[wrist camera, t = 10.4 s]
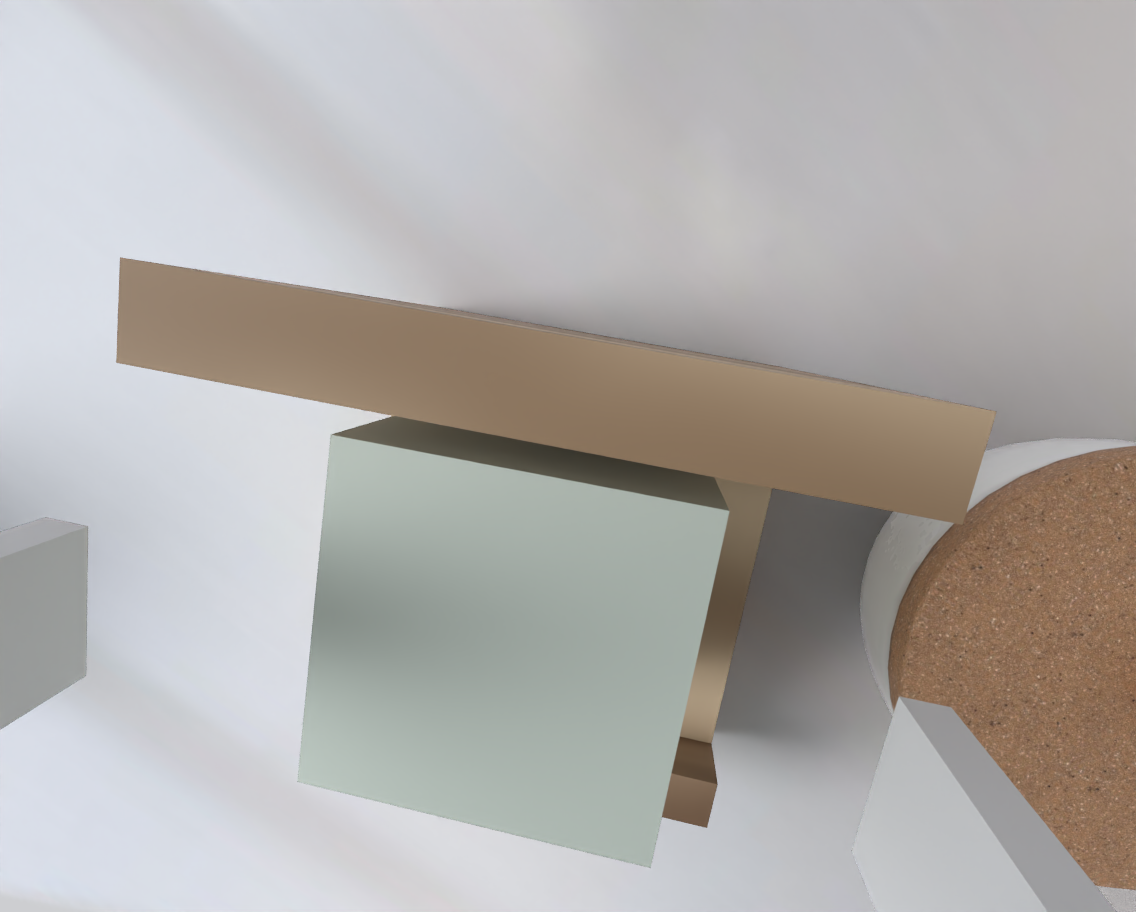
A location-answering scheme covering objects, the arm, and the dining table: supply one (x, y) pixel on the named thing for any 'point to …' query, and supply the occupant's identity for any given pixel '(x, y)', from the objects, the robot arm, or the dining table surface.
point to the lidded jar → (1027, 632)
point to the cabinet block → (507, 631)
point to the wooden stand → (576, 418)
